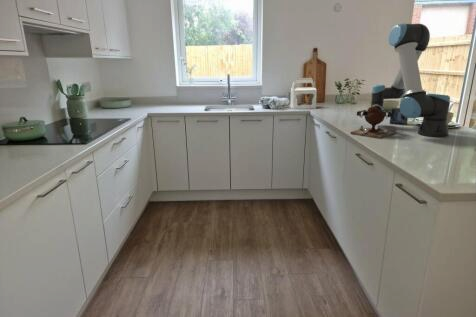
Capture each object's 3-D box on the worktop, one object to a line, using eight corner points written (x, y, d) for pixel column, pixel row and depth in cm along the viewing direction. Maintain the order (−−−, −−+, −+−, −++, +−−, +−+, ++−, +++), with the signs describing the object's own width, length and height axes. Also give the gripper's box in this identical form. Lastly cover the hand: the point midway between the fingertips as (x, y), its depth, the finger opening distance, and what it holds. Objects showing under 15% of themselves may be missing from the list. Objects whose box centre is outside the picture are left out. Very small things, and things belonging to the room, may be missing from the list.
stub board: (394, 133, 190) (395, 127, 189) (379, 138, 179) (380, 132, 178) (366, 129, 203) (366, 123, 202) (350, 133, 192) (351, 127, 191)
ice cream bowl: (374, 134, 184) (377, 108, 180) (359, 131, 193) (361, 106, 189) (387, 132, 188) (389, 106, 184) (371, 129, 198) (373, 105, 194)
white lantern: (292, 109, 300) (293, 78, 292) (290, 107, 313) (290, 77, 305) (316, 108, 301) (317, 77, 293) (312, 106, 313) (313, 77, 305)
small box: (389, 124, 219) (391, 108, 216) (389, 122, 225) (391, 107, 222) (407, 124, 215) (409, 109, 212) (406, 123, 221) (408, 107, 218)
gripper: (396, 118, 200) (396, 123, 181) (354, 116, 210) (350, 121, 192) (398, 105, 197) (398, 110, 179) (355, 104, 208) (351, 109, 189)
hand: (373, 116), depth 185 cm, fingers open, 13 cm apart
